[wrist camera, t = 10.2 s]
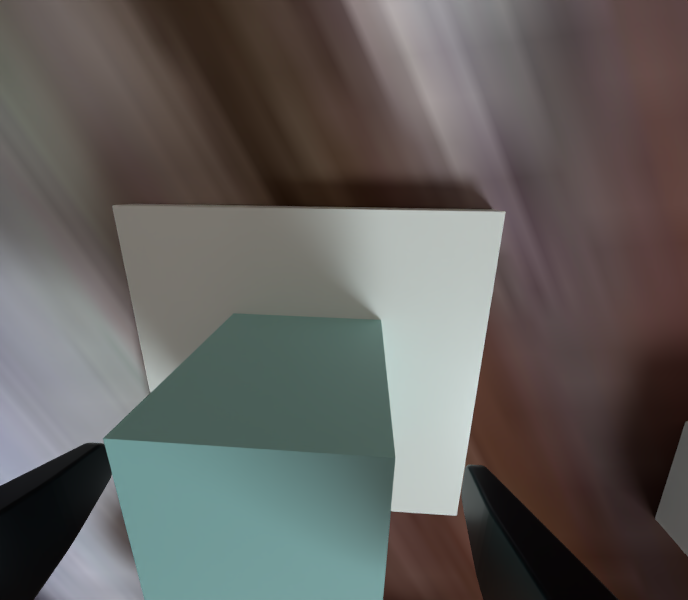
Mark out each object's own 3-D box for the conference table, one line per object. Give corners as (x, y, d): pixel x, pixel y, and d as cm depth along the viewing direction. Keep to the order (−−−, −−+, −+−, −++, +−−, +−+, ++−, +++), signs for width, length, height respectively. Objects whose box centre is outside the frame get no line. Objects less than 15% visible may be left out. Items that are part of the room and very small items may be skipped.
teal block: (244, 433, 13) (150, 623, 7) (233, 313, 11) (102, 438, 6) (373, 441, 13) (378, 645, 7) (381, 319, 11) (395, 458, 6)
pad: (183, 477, 15) (171, 496, 14) (133, 203, 12) (111, 205, 11) (450, 494, 15) (456, 515, 14) (493, 209, 11) (505, 211, 10)
